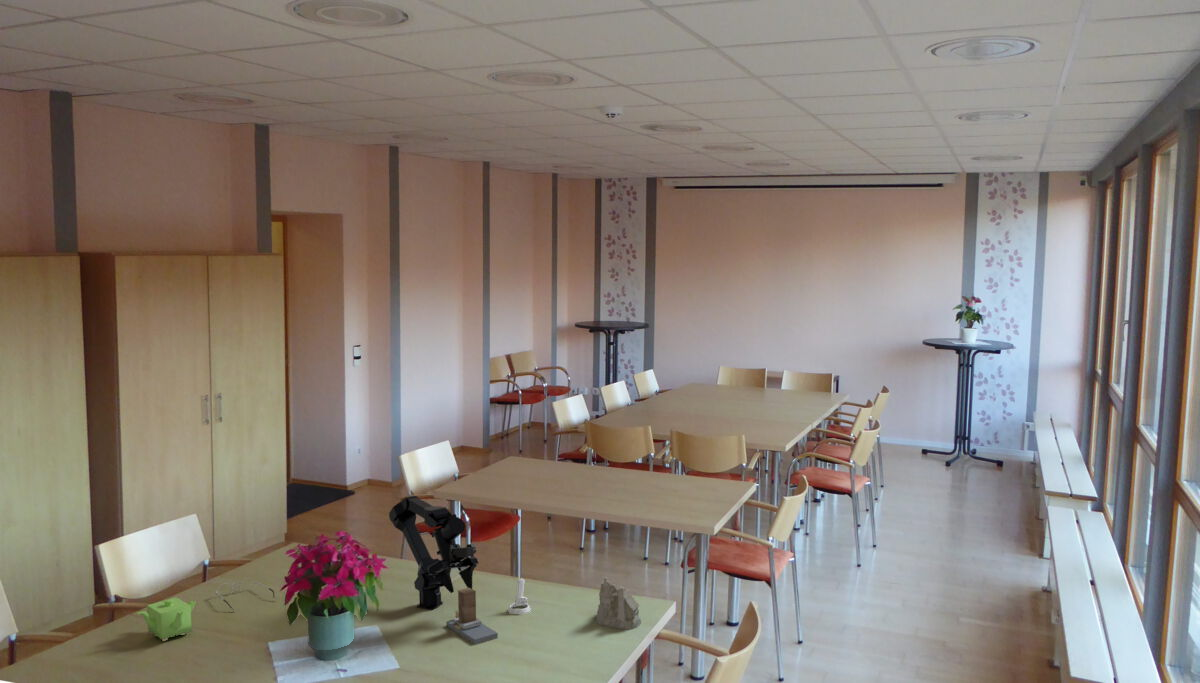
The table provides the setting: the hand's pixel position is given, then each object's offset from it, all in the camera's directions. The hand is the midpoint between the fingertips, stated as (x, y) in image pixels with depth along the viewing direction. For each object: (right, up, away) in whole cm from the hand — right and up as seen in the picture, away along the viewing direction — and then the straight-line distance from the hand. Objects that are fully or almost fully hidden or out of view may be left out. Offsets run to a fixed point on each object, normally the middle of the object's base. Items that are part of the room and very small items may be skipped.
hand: (461, 590), depth 292 cm
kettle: (-91, -12, -6) cm, 92 cm away
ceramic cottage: (+51, -10, +5) cm, 52 cm away
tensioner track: (+4, -11, -5) cm, 13 cm away
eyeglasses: (-78, -10, +24) cm, 82 cm away
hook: (+17, -10, +12) cm, 23 cm away
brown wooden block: (+2, -9, -3) cm, 10 cm away
